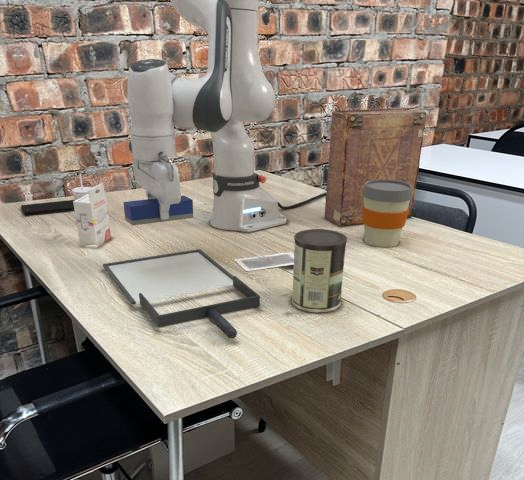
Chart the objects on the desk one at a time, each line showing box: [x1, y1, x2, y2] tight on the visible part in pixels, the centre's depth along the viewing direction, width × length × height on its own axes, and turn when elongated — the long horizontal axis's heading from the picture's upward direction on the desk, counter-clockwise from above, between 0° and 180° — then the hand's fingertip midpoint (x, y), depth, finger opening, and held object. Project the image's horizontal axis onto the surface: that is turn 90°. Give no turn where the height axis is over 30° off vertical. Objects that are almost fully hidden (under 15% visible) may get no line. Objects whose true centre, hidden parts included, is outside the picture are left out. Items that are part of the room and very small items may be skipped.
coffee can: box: [291, 228, 348, 313], centre depth 112 cm, size 10×10×14 cm
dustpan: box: [139, 275, 261, 340], centre depth 107 cm, size 22×21×3 cm
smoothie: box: [71, 173, 97, 200], centre depth 156 cm, size 6×6×14 cm
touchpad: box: [234, 251, 294, 272], centre depth 132 cm, size 8×15×2 cm, turn 113°
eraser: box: [123, 195, 195, 227], centre depth 121 cm, size 14×5×4 cm, turn 119°
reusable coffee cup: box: [362, 180, 412, 248], centre depth 147 cm, size 12×13×15 cm
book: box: [323, 107, 428, 227], centre depth 161 cm, size 25×9×30 cm, turn 114°
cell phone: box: [20, 199, 75, 216], centre depth 171 cm, size 9×18×1 cm, turn 117°
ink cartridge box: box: [73, 182, 112, 247], centre depth 142 cm, size 9×5×15 cm, turn 168°
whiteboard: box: [102, 248, 234, 305], centre depth 125 cm, size 24×23×2 cm
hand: (159, 214), depth 122 cm, fingers closed on eraser, 5 cm apart
